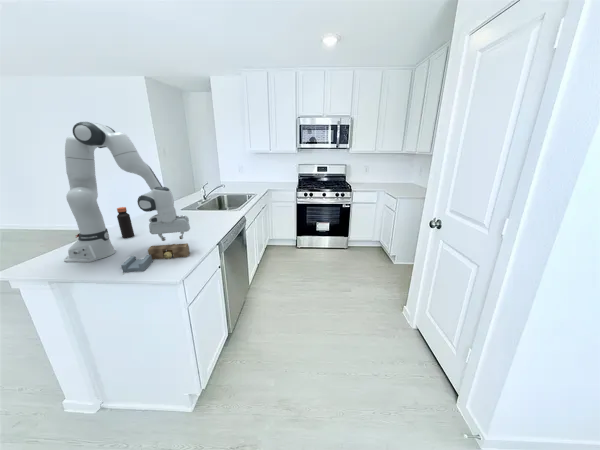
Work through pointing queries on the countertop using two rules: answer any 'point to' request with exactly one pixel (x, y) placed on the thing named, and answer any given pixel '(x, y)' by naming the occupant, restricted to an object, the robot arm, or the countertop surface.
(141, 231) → the countertop surface
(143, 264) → the v block
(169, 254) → the gold bar
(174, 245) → the beam
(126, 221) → the bottle
